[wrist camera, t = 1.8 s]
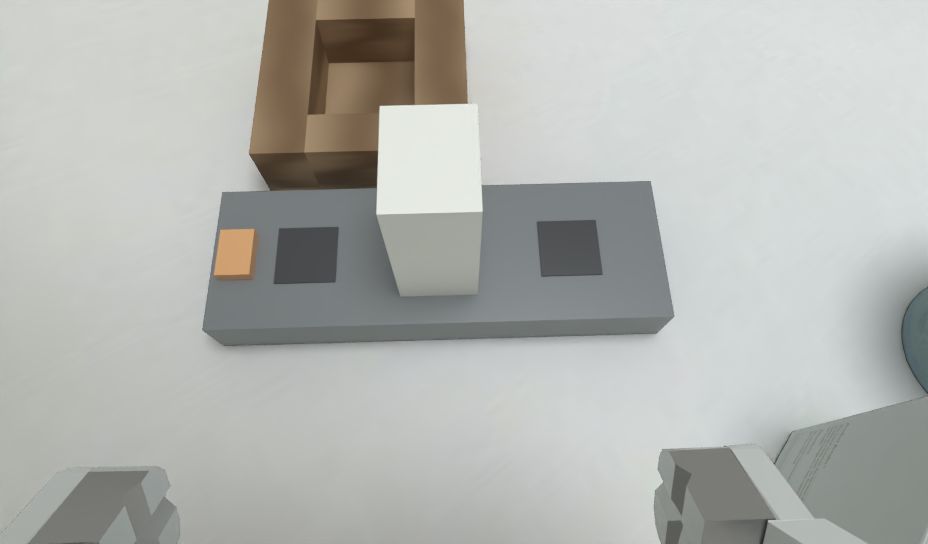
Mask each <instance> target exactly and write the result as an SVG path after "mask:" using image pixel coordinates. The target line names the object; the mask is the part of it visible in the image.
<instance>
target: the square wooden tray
mask: <svg viewBox="0 0 928 544" xmlns="http://www.w3.org/2000/svg"><path fill="white" fill-rule="evenodd" d="M441 104H468V102H467V77H466V51H465V26H464V1H463V0H269V4H268V12H267V19H266V27H265V35H264V43H263V50H262V58H261V66H260V73H259V81H258V89H257V96H256V104H255V112H254V119H253V127H252V135H251V142H250V150H249V155H250V156H251V158H252V160H253V161H254V163H255V165H256V166H257V168H258V170H259V171H260V173H261V175H262V176H263V178H264V180H265V181H266V183H267V185H268V186H269V188H270V190H271V191H289V190H328V189H366V188H377V176H378V143H379V111H380V106H399V105H441Z"/></svg>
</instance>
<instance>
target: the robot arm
mask: <svg viewBox="0 0 928 544" xmlns="http://www.w3.org/2000/svg"><path fill="white" fill-rule="evenodd" d="M658 471H659V473H660V475H661V478H662V480H663V483H662V484H661V485H660V486H659V487H658V488H657V489H656V490H655V497H654V515H655V525H656V529H657V533H658V536H659V540H660V542H661V544H868V543H866V542H864V541H863V540H861V539H859V538H857V537H856V536H854V535H852V534H851V533H849V532H847V531H845V530H844V529H842V528H840V527H838V526H837V525H835V524H833V523H832V522H830V521H828V520H826V519H815V518H814V517H813V516H812V514H811V513H810V512H809V510H808V509H807V508H806V506H805V505H804V504H803V502H802V501H801V500H800V498H799V497H798V496H797V494H796V493H795V492H794V490H793V489H792V488H791V486H790V485H789V484H788V482H787V481H786V480H785V478H784V477H783V476H782V474H781V473H780V472H779V470H778V469H777V468H776V466H775V465H774V464H773V462H772V461H771V460H770V458H769V457H768V456H767V454H766V453H765V452H764V450H763V449H762V448H761V447H759V446H758V445H756V444H747V445H729V446H724V447H702V448H677V449H662V451H661V453H660V456H659V462H658ZM169 487H170V483H169V481H168V478H167V475H166V472H165V470H164V469H162V468H160V467H158V466H141V467H97V468H67V469H64V470H62V471H60V472H57V473H56V475H55V476H54V477H53V478H52V479H51V480H50V481H49V482H48V483H47V484H46V485H45V487H44V488H43V489H42V490H41V491H40V492H39V493H38V494H37V495H36V496H35V497H34V498H33V500H32V501H31V502H30V503H29V504H28V505H27V506H26V507H25V508H24V509H23V510H22V512H21V513H20V514H19V515H18V516H17V517H16V518H15V519H14V520H13V521H12V522H11V524H10V525H9V526H8V527H7V528H6V529H5V530H4V531H3V532H2V533H1V534H0V544H178V539H179V535H180V520H179V515H178V512H177V508H176V506H174V505H173V504H172V503H171V502H170V501H168V500H167V499H166V498H165V497H164V496H165V494H166V492H167V490H168V489H169Z"/></svg>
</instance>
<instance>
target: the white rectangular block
mask: <svg viewBox="0 0 928 544" xmlns="http://www.w3.org/2000/svg"><path fill="white" fill-rule="evenodd" d="M376 215H377V219H378V222H379V225H380V229H381V232H382V236H383V239H384V243H385V246H386V249H387V253H388V256H389V260H390V263H391V266H392V270H393V273H394V277H395V280H396V283H397V287H398V290H399V294H400V297H406V296H442V295H478V280H479V264H480V248H481V232H482V216H483V207H482V186H481V165H480V144H479V123H478V104H441V105H399V106H380V111H379V143H378V176H377V209H376Z"/></svg>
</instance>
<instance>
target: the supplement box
mask: <svg viewBox="0 0 928 544" xmlns="http://www.w3.org/2000/svg"><path fill="white" fill-rule="evenodd" d="M775 466H776V468H777V469H778V470H779V472H780V473H781V474H782V476H783V477H784V478H785V480H786V481H787V482H788V484H789V485H790V486H791V488H792V489H793V490H794V492H795V493H796V494H797V496H798V497H799V498H800V500H801V501H802V502H803V504H804V505H805V506H806V508H807V509H808V510H809V512H810V513H811V514H812V516H813V517H814V518H815V519H826V520H828V521H830V522H832V523H833V524H835V525H837V526H838V527H840V528H842V529H844V530H845V531H847V532H849V533H851V534H852V535H854V536H856V537H857V538H859V539H861V540H863V541H864V542H866V543H868V544H928V396H926V397H922V398H918V399H914V400H910V401H907V402H903V403H899V404H895V405H891V406H887V407H884V408H880V409H876V410H872V411H869V412H865V413H861V414H857V415H853V416H850V417H846V418H842V419H839V420H835V421H831V422H827V423H823V424H819V425H815V426H812V427H808V428H804V429H800V430H796V431H793V432H792V434H791V436H790V438H789V439H788V441H787V443H786V445H785V447H784V448H783V450H782V452H781V454H780V456H779V458H778V460H777V462H776V463H775Z"/></svg>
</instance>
